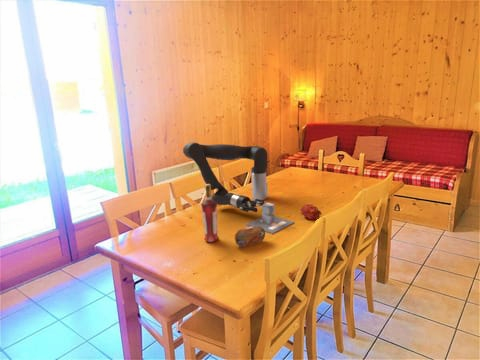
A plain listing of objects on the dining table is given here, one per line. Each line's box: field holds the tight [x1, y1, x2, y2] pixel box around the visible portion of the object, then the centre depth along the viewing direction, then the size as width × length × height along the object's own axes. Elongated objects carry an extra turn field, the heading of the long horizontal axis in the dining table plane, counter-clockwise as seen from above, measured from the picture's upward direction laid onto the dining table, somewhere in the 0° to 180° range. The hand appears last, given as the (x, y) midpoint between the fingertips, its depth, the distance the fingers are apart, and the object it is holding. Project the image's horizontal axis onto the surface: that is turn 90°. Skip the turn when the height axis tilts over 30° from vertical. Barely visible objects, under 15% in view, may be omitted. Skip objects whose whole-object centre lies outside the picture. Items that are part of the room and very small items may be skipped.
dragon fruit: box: [300, 203, 323, 221], centre depth 198 cm, size 8×8×12 cm
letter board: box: [245, 215, 295, 235], centre depth 194 cm, size 18×18×1 cm
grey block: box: [261, 202, 275, 225], centre depth 193 cm, size 4×4×10 cm
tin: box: [234, 225, 266, 248], centre depth 171 cm, size 15×3×8 cm, turn 117°
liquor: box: [201, 183, 219, 243], centre depth 174 cm, size 7×7×28 cm
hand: (262, 208), depth 195 cm, fingers open, 8 cm apart
